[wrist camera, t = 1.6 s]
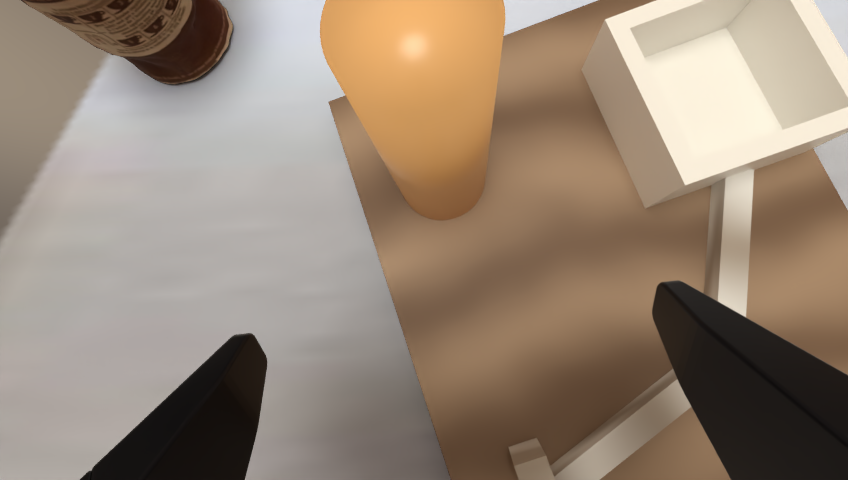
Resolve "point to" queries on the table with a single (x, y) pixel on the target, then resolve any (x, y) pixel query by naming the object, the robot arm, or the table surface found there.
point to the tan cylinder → (421, 90)
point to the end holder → (716, 88)
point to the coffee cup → (149, 32)
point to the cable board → (588, 278)
